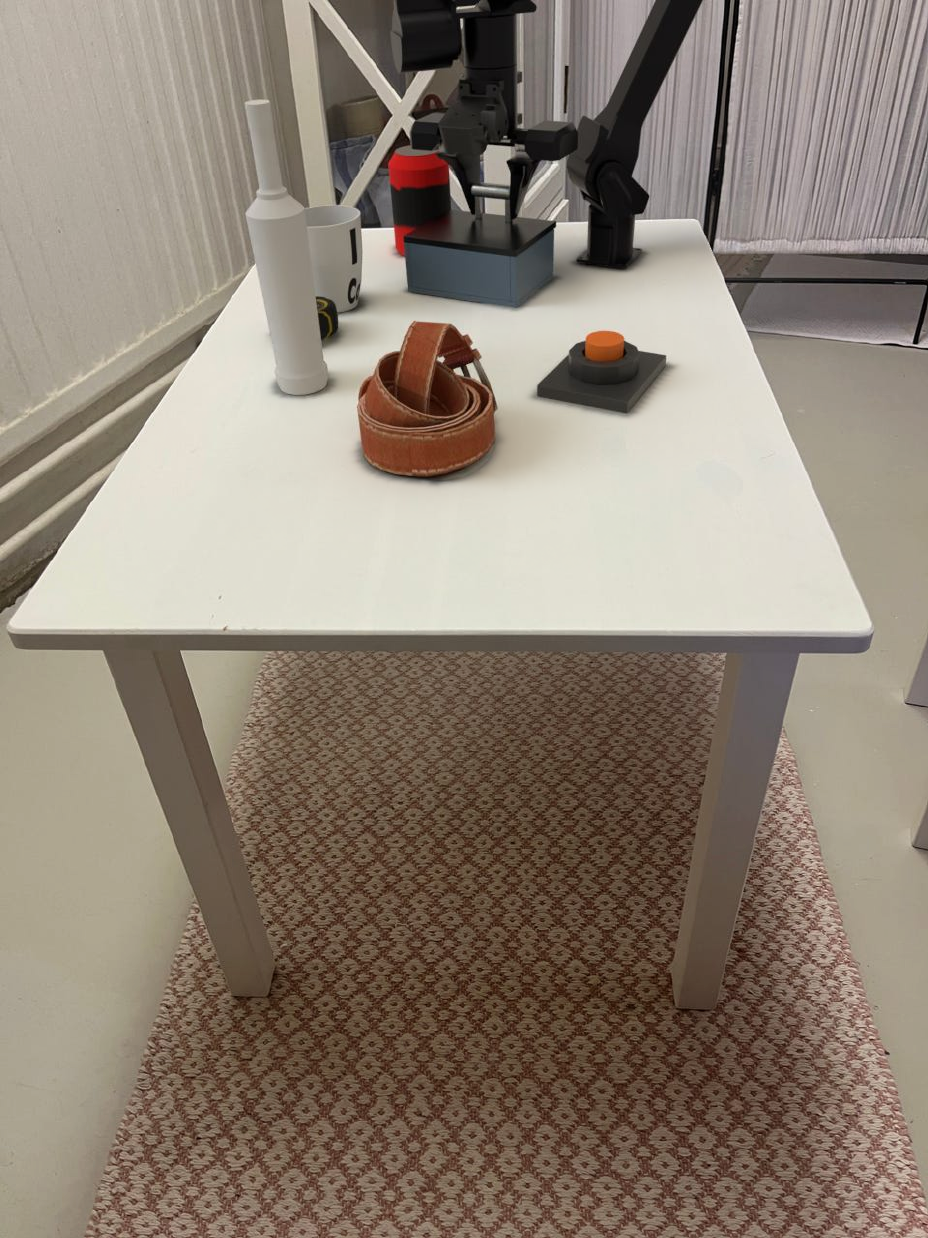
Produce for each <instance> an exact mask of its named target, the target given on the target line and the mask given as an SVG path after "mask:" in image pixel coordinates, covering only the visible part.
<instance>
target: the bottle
mask: <svg viewBox="0 0 928 1238" xmlns="http://www.w3.org/2000/svg"><path fill="white" fill-rule="evenodd" d="M244 108H245V114H246V120H247V125H248V126H247V127H248V129H249V132H250V139H251V144H252V150H253V151H252V152H253V157H254V163H255V168H256V174H257V180H258V186H259V187H258V189H257V190H256V192H255V193H256V194H255V195H256V198H255V199H254V201H253V202H252V203H251V205H250V206H249V207H248V209H247V210H246V212H245V219H246V225H247V228H248V234H249V238H250V243H251V248H252V252H253V258H254V264H255V268H256V272H257V277H258V283H259V287H260V292H261V297H262V302H263V307H264V312H265V316H266V323H267V327H268V332H269V336H270V341H271V346H272V350H273V355H274V361H275V365H276V366H275V369H274V376H275V380H276V382H277V385H278V387H279V389H280V390H281V392H283V393H285V394H288V395H291V396H292V395H293V396H305V395H310V394H314V393H317V392H319V391H322V390H323V389H324V388H326V386H327V383H328V379H329V368H328V364H327V362H326V361H325V360H324V351H323V345H322V341H321V336H320V328H319V320H318V312H317V304H316V296H315V288H314V281H313V273H312V265H311V257H310V249H309V241H308V233H307V225H306V217H305V206H303V205H302V204H301V203H300V202H299V201H298V200H296V199H295V198H294V197H292V196H291V195H290V194H289V193H288V188H287V187H285V186H284V185H283V181H282V175H281V169H280V161H279V156H278V150H277V145H276V138H275V137H276V136H275V131H274V120H273V114H272V108H271V101H270V100H268V99H253V100H252V99H251V100H247V101H245V102H244Z"/></svg>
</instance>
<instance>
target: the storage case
mask: <svg viewBox="0 0 928 1238" xmlns="http://www.w3.org/2000/svg"><path fill="white" fill-rule="evenodd" d="M404 250H405V256H404V261H405V273H406V285H407V292H409V293H415V294H422V295H428V296H434V297H441V298H446V299H447V298H448V299H455V300H460V301H468V302H473V303H481V304H490V305H495V306H496V305H497V306H501V307H509V308H515V309H517V308H518V307H519V306H520V305H522V304H523V303H524V302H525V301H527V300H528V299H529V298H530V297H532V296H533V295H534V294H535V293H537V292H538V291H539V290H540V289H542V288H543V287H545V285H546V284H548V283H549V282H550V281H551V280H553V279H554V266H555V265H554V261H555V258H554V257H555V253H554V252H555V228H554V229H553V230H552V231H550V232H549V233H547V234H546V235H545V236H543V237H542V238H541V239H539V240H538V241H537V242H535V243H534V244H533V245H531V246H530V247H528V248H527V249H526V250H524V251H523V252H522V253H520V254H519V255H518V256H516V257H515V256H507V255H499V254H491V253H484V252H476V251H468V250H461V249H453V248H445V247H437V246H430V245H422V244H414V243H406V242H405V243H404Z"/></svg>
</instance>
